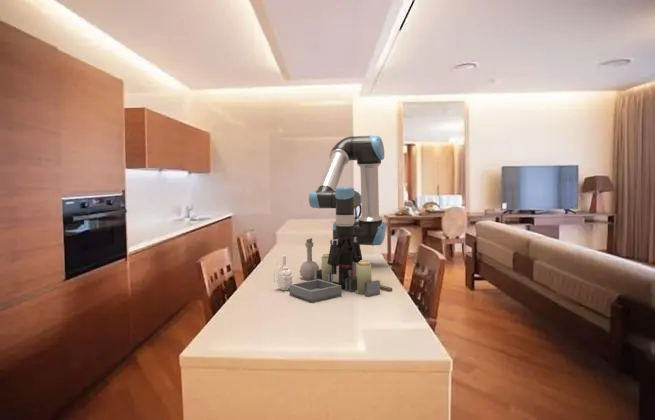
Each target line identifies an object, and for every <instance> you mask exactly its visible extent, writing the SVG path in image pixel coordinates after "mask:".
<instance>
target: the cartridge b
mask: <svg viewBox="0 0 655 420" xmlns="http://www.w3.org/2000/svg"><path fill="white" fill-rule="evenodd" d="M367 282H372V264H371V262H370V261H368V260H360V261H359V262H358V264H357V291H356V293H357V294H359V295H364V296H365V283H367Z"/></svg>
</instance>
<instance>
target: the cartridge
mask: <svg viewBox="0 0 655 420" xmlns="http://www.w3.org/2000/svg"><path fill="white" fill-rule="evenodd" d="M328 257H329V253H324V254H322V256H321V269H322V280H323V281H327V282H328V273H332V266H331V265H329V264H328Z"/></svg>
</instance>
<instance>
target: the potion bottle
mask: <svg viewBox="0 0 655 420" xmlns="http://www.w3.org/2000/svg"><path fill="white" fill-rule="evenodd" d="M305 241H306V242H304V243H305V247H306V261H304V262H302V264H301V265H300V269H299V274H300V277H302V278H301V280H305V281H312V280H315V270H319V269H320V267H319V265H318V263H317V262H316V261H313V249H312V248H313V247H314V242H313V237H311V238H308V239H306V240H305Z"/></svg>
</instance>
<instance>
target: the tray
mask: <svg viewBox="0 0 655 420" xmlns="http://www.w3.org/2000/svg"><path fill="white" fill-rule="evenodd" d="M289 296H291V297H294V298H296V299H300V300H302V299H303V301H305V300H306V302H308V301H309V303H311V302H313V303H317V302H320V301H321V300H322V301H326V300H330V299H334V298H338V297H342V289H341V285H337V284H334V283H330V282H327V281H323V280H319V279H317V280H306V281H302V282H297V283H292V284H291V285H290V288H289ZM316 301H317V302H316ZM322 301H321V302H322Z"/></svg>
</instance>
